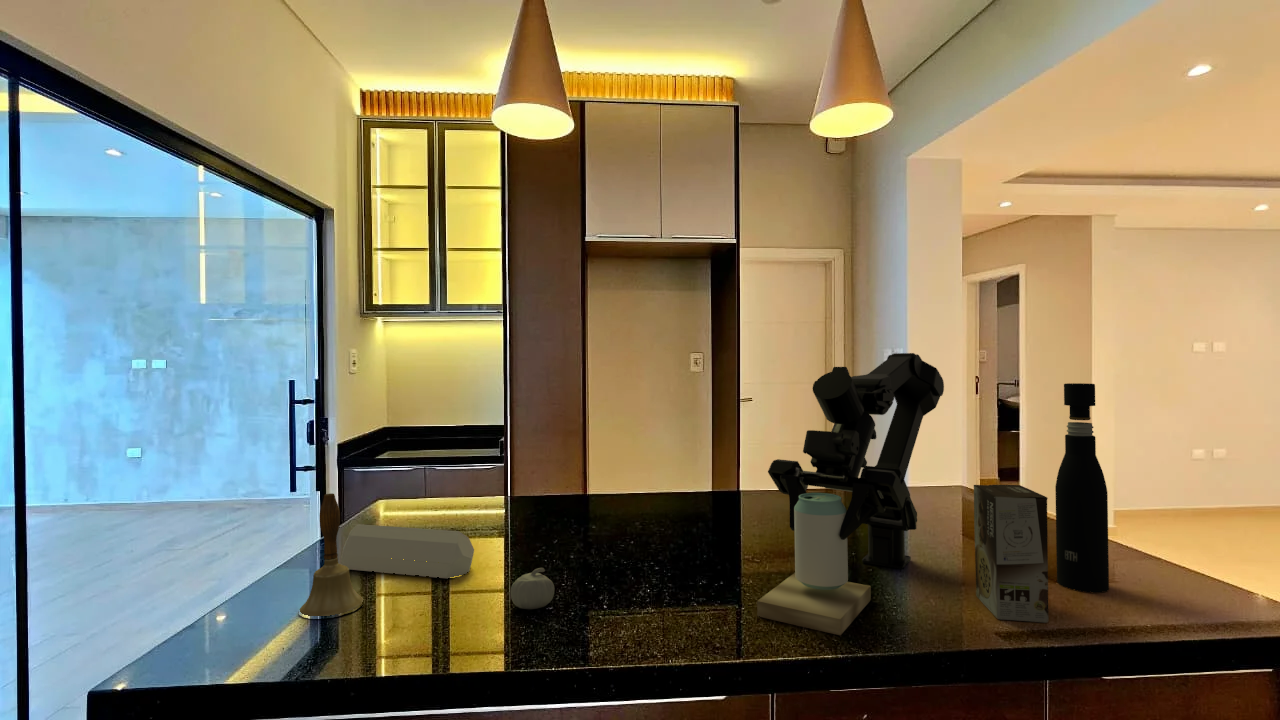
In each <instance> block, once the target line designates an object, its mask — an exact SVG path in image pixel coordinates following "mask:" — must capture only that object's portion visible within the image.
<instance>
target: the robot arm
mask: <svg viewBox="0 0 1280 720" xmlns="http://www.w3.org/2000/svg"><path fill="white" fill-rule="evenodd" d="M944 391H945V383H944V378H943V377H942V375H941V373H940V371H939V370H938V368H937V367H936V366H935V367H934V366H933V365H932V364H930V363H928V362H926V361H924V360H923V359H922V358H921V356H920V355H919V354H916V353H914V352H906V353H905V352H904V353H903V352H902V353H900V352H899V353H897V352H896V353H892V354H889V355H888V356H887V359H886V360H884V361H883V362H882V363H880V364H879V365H878V366H877V367H875V368H874V369H872V370H871V371H870V372H868V373H865V374H861V375H860V374H859V375H854V376H851V375H850V372H849V370H848V367H847V366H833V368H832V370H831V371H829V372H826V373H825V374H823V375H821V376H820V377H818V379H817V380H815V381H814V382H813V384H812V392H813V394H814V396H815V399H816V400H817V402H818V405H819V406H820V409H821V410H822V412H823V414H824V417H825V419H826V420H827V421H828V422H830V423H832V424H833V426H832V429H831V430H830V431H827V430H826V431H825V430H814V429H812V430H811V429H810V430H809V429H808V430H806V433H805V438H804V444H803V448H802V449H803V450H802V453H803V454H805V455H809V456H810V457H811V459H810V464H811V466H812V467H813V468H816V471H811V470H810V471H808V470H803V468H802V466H801V464H800V463H799V461H798V460H790V459H789V460H788V459H774V460H772V462H771V463H770V466H769V467H768V470H767V473H768V475H769V476H770V478H771V479H772V481H773V483H774V484H775V486H776V487H777V489H778V491H779V492H780V493H782V494H784V495H788V500H789V528H790V530H791V531H793V532H795V531H794V507H795V505H796V504H797V502H798V501H799V495H801V494H804V493H808V492H807V490H808V487H809V486H810V487H818V488H819V487H820V488H824V489H829V490H835V491H844V492H851V499H850V501H849V502H850V503H849V505H848V508H847V509H846V510H847V512H846V515H845V518H844V520H843V523H842V526H841V530H840V534H839V536H840V538H841V539H842V540H845V539H846V538H847V539H848V538H849V536H850V535H851V534H852V533H854V532H855V531H856V530H857V529H858V528H859V527H861V525H863V524H864V525H867V536H868V537H867V540H868V543H867V544H868V545H867V546H868V552H867V554H866V555H865V556H864V557H862V559H861V563H864V564H870V565H874V566H880V567H881V566H882V567H887V568H893V569H900V570H902V569H904V568H905V567H906V566H907V564H908V563H909V562H911V560H912V559H911V556H909V555H905V553H906V551H905V549H906V547H905V546H906V545H905V538H906V537H905V536H906V535H905V532H908V531H911V530H915V531H916V530H917V523H918V511H917V510H916V507H915V505H914V503H913V501H912V498H911V493H910V490H909V489H908V488H909V487H908V486H907V484H906V481H905V478H906V474H907V471H908V467H909V464H910V460H911V458H912V455H913V451H914V448H915V446H916V445H915V444H916V441H917V437H918V434H919V432H920V429H921V425H922V422H923V418H924V416H926V415H927V414H928V413H930V412H931V411H933V410H935V409H936V408H937V405H938V404H939V401H940V399H941V397H942V396H944V395H943V394H944ZM894 400H895V403H896V406H895V410H894V413H893V415H892V418H891V421H890V424H889V427H888V430H887V433H886V436H885V439H884V442H883V445H882V448H881V450H880V451H881V452H880V454H879V458H878V460H877V463H876V465H874V466H872V465H868V461H867V459H866V454H867V452H868V449H869V446H870V443H871V440H877V432H876V429H875V427H876V422H875V420H874V419H873V417H872V416H871V415H875V416H876V415H877V416H884V415H886V414H887V412H888V411H889V410H890V408H891V407H892V405H893V403H894ZM860 472H861V473H860Z"/></svg>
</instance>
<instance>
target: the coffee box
mask: <svg viewBox="0 0 1280 720" xmlns="http://www.w3.org/2000/svg"><path fill="white" fill-rule="evenodd" d="M1048 499H1049V498H1048V497H1047V496H1045V495H1043V494H1040V493H1039V492H1036V491H1034V490H1032V489H1030V488H1028V487H1025V486H1022V485H1021V484H1020V485H1019V484H973V514H974V515H973V517H974V519H973V520H974V527H973V528H974V553H975V554H974V556H975V558H974V559H975V560H974V562H975V563H974V565H975V566H974V567H975V596H976V598H977V599H979V601H980V602H981V603H982V604H983V605H984V606H985V607H986V608H987V610H989V612H991V614H992V615H993V616H994V617H995V618H996V619H998V620H1002V621H1003V620H1005V621H1015V622H1016V621H1018V622H1031V623H1043V624H1047V623H1048V622H1049V560H1048V559H1049V554H1048V553H1049V552H1048V550H1049V549H1048V545H1049V544H1048V542H1049V540H1048V539H1049V538H1048Z"/></svg>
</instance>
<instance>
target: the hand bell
mask: <svg viewBox="0 0 1280 720" xmlns="http://www.w3.org/2000/svg"><path fill="white" fill-rule="evenodd" d="M340 523H341V512H340V507H339V504H338V501H337V500H336V496H335V493H325V494H324V495H323V499H322V502H321V505H320V509H319V527H320V530H321V533H322V537H323V542H324V544H323V545H324V549H323V551H324V552H323V553H324V555H323V558H324V564H323V566H321V567H320V568H318V569H317V570H315V572H313V577H312V585H311V590H310V593H309V595H308V598H307V599H306V601H305V602H304V603H303V604H302V605H301V607H300V608H299V610H300V612H301V613H302V614H304V615H308V616H330V615H335V614H340V613H344V612H347V611H350V610H353V609H355V608H357V607H358V606H359V605H361V604H362V602H363V600H364V598H363V597H362V596H361V595H360V594H358V593H357V591H356V590H355V589H354V588H355V587H354V586H353V584H352V581H351V576H350V575H351V574H350V569H349V568H348V567H347V566H344V565H341V563H339V558H338V556H339V554H338V545H337V544H338V543H337V540H338V539H337V538H338V532H339V528H340Z"/></svg>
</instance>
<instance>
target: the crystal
mask: <svg viewBox="0 0 1280 720" xmlns="http://www.w3.org/2000/svg"><path fill="white" fill-rule="evenodd" d="M474 552H475V549H474V546H473V544H472V541H471V539H470V538H469V536H467V535H465V534H464V533H463V532H461V531H460V530H446V529H435V528H420V527H419V528H418V527H405V526H403V527H402V526H389V525H374V524H363V523H357V524H356V525H355V526H354V527H353V528H352V529H351V530H349V533H348V535H347V539H346V540H345V542H344V545H343V547H342V552H341V556H340V564H341V565H344V566H347V567H348V568H349V571H350V570H354V571H364V572H372V571H374V572H375V573H383V572H384V573H385V574H393V573H395V574H396V575H405V574H406V576H415V575H419V576H418V577H426V576H429V577H428V578H437V577H439V578H440V579H448V578H450V577H454V576H459V575H463V574H465V575H466V574H468V573H469V572H470V569H471V566H472V564H473V563H472V562H473V558H474V555H475V554H474ZM391 558H392V559H391ZM403 559H404V560H403ZM414 560H415V561H414ZM426 561H427V562H426ZM438 562H439V563H438ZM374 572H373V573H374ZM467 572H468V573H467ZM463 576H464V575H463ZM439 578H438V579H439Z"/></svg>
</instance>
